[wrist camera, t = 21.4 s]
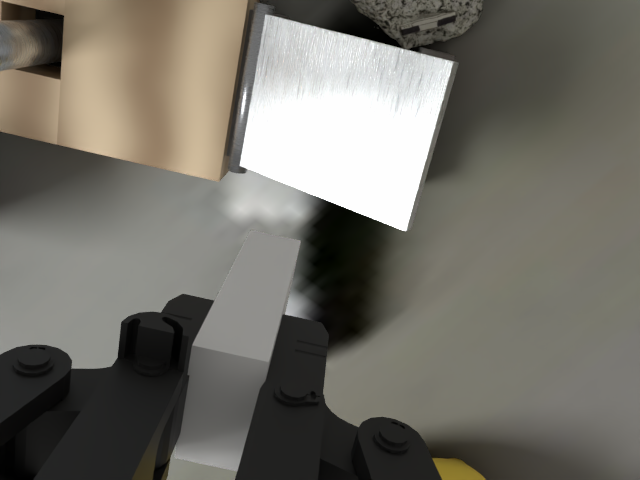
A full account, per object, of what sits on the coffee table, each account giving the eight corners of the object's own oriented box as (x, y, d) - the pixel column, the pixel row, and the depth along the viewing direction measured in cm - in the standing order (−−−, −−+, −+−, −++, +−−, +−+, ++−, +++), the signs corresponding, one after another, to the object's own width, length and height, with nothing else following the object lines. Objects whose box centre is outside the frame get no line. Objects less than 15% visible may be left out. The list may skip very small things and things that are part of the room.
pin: (43, 55, 41) (-111, 76, 28) (45, 15, 40) (-114, 17, 27) (81, 63, 41) (-55, 88, 28) (83, 23, 40) (-56, 29, 27)
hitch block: (-6, 112, 43) (-42, 122, 39) (-2, -76, 38) (-42, -86, 35) (406, 206, 43) (410, 225, 39) (456, 29, 38) (465, 31, 35)
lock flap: (223, 168, 38) (401, 240, 33) (250, 1, 35) (455, 51, 29) (235, 166, 39) (410, 236, 34) (262, 3, 36) (463, 52, 30)
